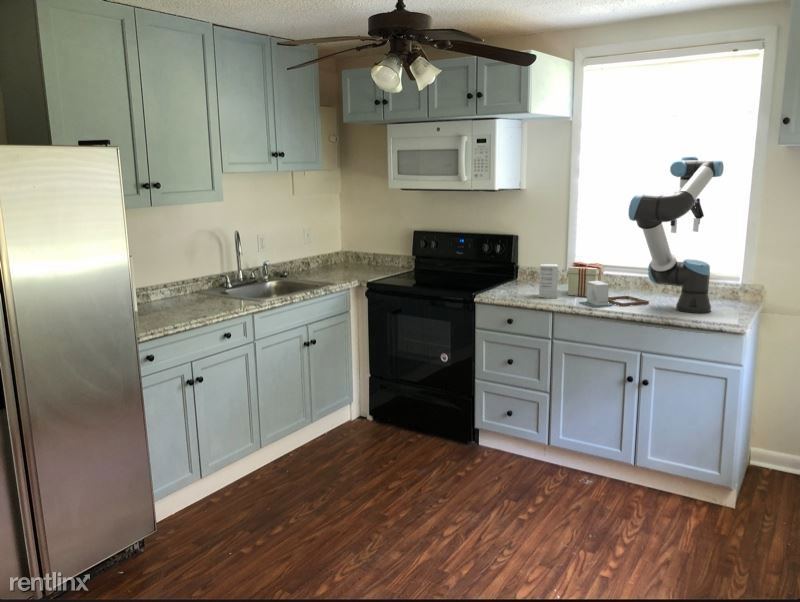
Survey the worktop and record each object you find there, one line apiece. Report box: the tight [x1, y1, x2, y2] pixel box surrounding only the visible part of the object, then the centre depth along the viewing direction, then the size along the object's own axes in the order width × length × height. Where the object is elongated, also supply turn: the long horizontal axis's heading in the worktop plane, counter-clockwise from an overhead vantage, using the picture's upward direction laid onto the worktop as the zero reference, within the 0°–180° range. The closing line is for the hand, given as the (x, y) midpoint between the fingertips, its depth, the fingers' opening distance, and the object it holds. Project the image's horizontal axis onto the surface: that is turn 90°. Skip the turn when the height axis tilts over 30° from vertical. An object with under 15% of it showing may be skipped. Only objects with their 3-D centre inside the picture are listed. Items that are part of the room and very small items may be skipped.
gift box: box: [567, 261, 605, 298], centre depth 358 cm, size 17×18×17 cm
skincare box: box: [586, 281, 610, 305], centre depth 331 cm, size 10×6×10 cm, turn 13°
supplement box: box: [538, 263, 559, 299], centre depth 352 cm, size 10×9×17 cm
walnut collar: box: [608, 295, 650, 307], centre depth 336 cm, size 16×16×2 cm
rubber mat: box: [578, 300, 615, 308], centre depth 332 cm, size 12×12×1 cm
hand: (684, 232), depth 332 cm, fingers open, 13 cm apart
